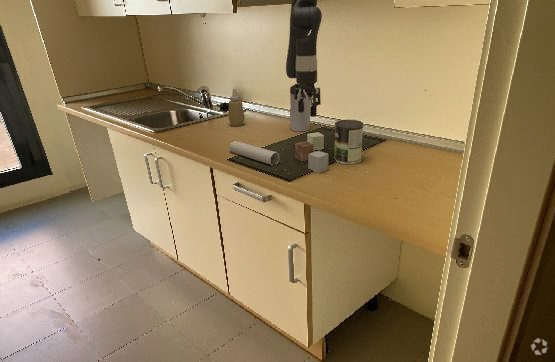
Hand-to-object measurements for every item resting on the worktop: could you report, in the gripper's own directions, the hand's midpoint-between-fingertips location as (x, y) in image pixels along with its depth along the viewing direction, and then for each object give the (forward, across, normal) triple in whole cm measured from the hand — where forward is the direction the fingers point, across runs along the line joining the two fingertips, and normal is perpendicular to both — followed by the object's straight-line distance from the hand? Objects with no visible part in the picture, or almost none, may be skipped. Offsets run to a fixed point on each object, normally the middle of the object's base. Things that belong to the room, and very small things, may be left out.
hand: (307, 114), depth 141 cm
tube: (+17, -12, -18) cm, 28 cm away
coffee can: (+18, +10, +12) cm, 23 cm away
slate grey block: (+17, +12, -3) cm, 21 cm away
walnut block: (+17, 0, -1) cm, 17 cm away
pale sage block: (+17, -7, +8) cm, 20 cm away
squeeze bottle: (+16, -59, -5) cm, 61 cm away
